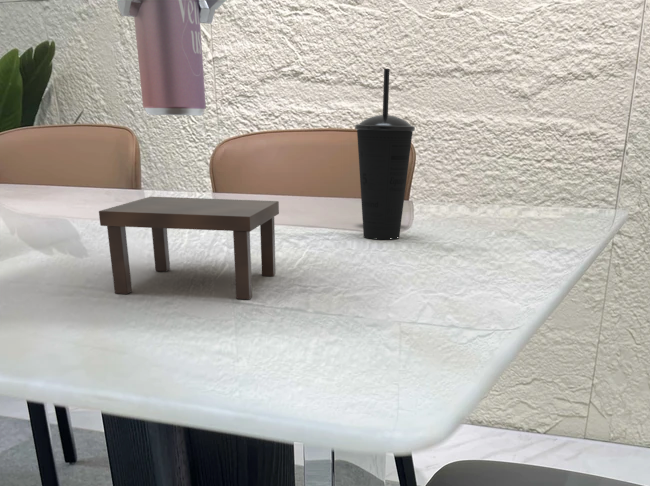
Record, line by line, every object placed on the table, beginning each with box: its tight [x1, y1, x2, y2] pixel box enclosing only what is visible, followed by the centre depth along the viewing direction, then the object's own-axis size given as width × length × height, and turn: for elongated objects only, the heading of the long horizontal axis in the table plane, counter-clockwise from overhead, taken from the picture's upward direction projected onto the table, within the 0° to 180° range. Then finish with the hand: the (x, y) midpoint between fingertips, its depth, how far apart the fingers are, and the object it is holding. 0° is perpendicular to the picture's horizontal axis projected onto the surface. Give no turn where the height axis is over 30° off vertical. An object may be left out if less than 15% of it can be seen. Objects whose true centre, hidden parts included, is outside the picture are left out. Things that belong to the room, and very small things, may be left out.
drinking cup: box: [354, 68, 416, 240], centre depth 99 cm, size 8×8×20 cm
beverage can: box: [133, 0, 207, 116], centre depth 72 cm, size 6×6×15 cm
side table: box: [98, 196, 280, 300], centre depth 72 cm, size 13×13×7 cm
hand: (164, 15), depth 72 cm, fingers closed on beverage can, 6 cm apart
